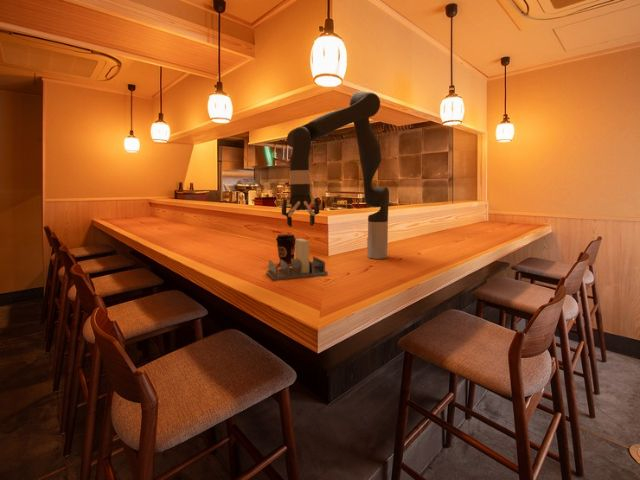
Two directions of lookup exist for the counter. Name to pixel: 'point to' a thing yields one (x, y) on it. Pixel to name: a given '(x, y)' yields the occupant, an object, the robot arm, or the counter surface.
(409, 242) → the counter surface
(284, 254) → the coffee cup
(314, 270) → the dish rack
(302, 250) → the tall cream pillar
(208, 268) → the counter surface
